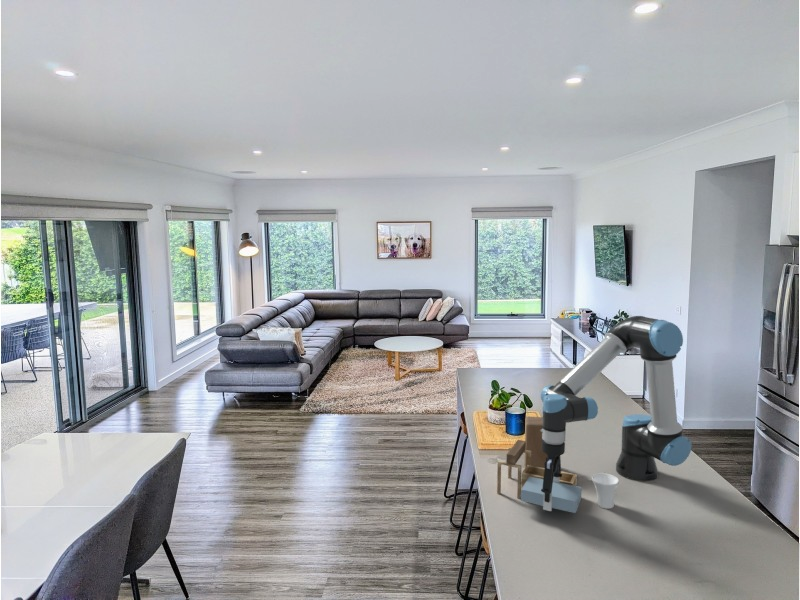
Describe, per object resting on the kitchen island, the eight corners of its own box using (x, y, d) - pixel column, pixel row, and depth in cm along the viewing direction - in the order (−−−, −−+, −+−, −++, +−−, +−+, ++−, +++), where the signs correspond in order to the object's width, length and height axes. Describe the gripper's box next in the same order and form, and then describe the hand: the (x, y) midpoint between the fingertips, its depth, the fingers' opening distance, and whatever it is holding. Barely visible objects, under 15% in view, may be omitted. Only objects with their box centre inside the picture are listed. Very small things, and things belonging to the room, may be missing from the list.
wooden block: (551, 474, 213) (552, 425, 211) (525, 472, 215) (526, 424, 213) (549, 463, 223) (550, 416, 220) (524, 461, 225) (525, 415, 222)
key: (525, 449, 207) (525, 441, 207) (514, 465, 194) (514, 455, 193) (517, 448, 208) (517, 439, 208) (506, 463, 195) (506, 454, 195)
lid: (581, 498, 185) (581, 487, 185) (575, 513, 176) (575, 501, 175) (529, 487, 194) (529, 476, 193) (520, 500, 184) (521, 489, 184)
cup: (617, 500, 193) (618, 473, 191) (618, 513, 184) (619, 485, 183) (590, 496, 195) (591, 470, 194) (590, 509, 187) (592, 481, 185)
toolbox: (577, 491, 200) (578, 459, 198) (570, 509, 186) (571, 476, 185) (508, 476, 212) (509, 447, 210) (497, 493, 198) (497, 461, 197)
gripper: (549, 427, 194) (547, 485, 197) (533, 451, 173) (531, 515, 176) (571, 431, 191) (568, 490, 193) (557, 455, 170) (555, 521, 173)
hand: (551, 502), depth 185 cm, fingers closed on lid, 11 cm apart
